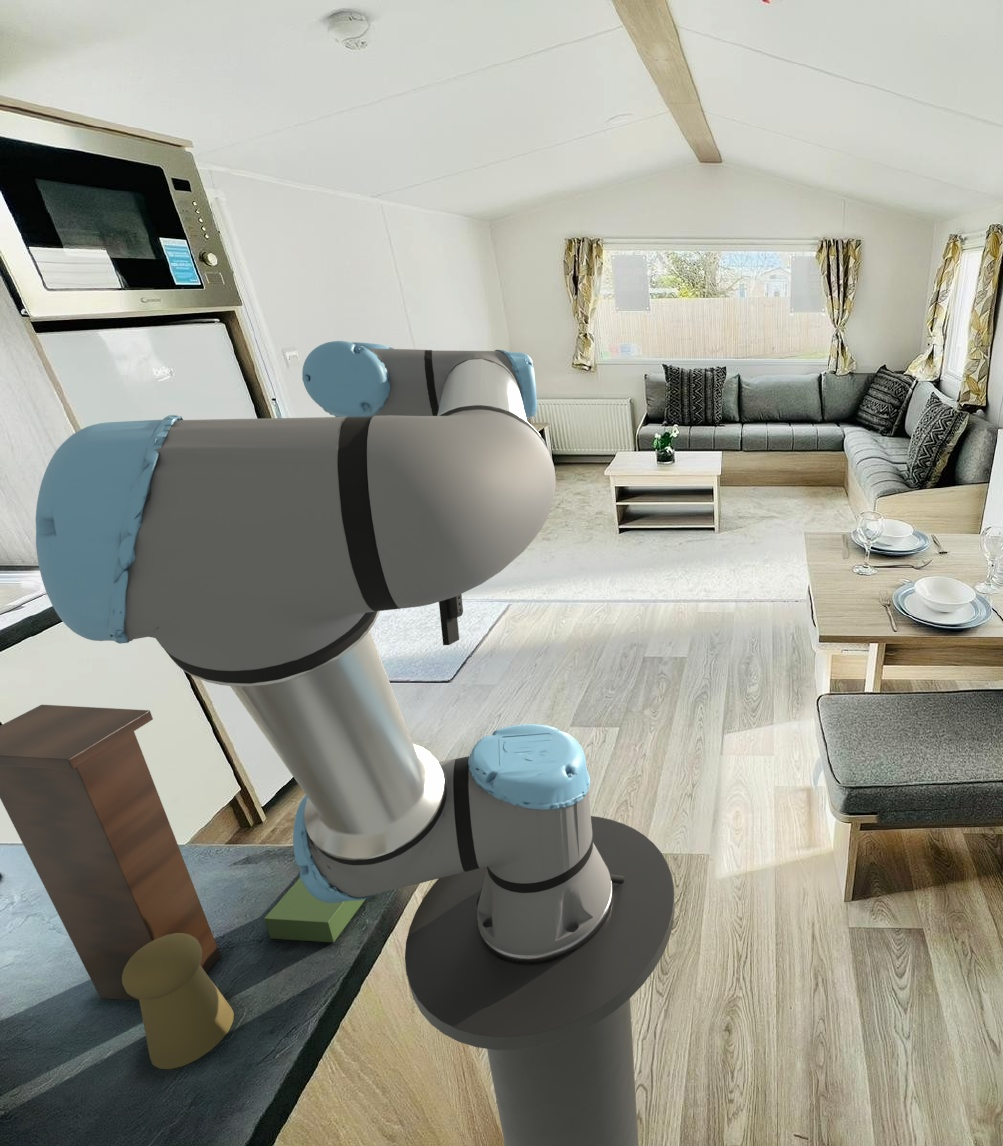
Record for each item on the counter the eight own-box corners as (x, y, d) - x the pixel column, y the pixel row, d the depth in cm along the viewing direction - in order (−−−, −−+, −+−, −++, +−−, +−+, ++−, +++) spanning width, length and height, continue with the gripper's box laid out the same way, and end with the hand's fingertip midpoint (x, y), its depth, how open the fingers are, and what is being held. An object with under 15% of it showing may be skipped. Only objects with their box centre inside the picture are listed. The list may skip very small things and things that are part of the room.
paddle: (410, 838, 83) (406, 820, 82) (333, 942, 69) (328, 922, 68) (357, 835, 83) (352, 817, 82) (270, 938, 69) (263, 918, 68)
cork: (188, 1076, 57) (149, 990, 53) (131, 1061, 58) (89, 976, 54) (250, 1009, 62) (219, 927, 58) (197, 997, 63) (163, 915, 59)
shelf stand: (238, 948, 68) (150, 709, 57) (180, 1014, 62) (68, 759, 51) (146, 942, 68) (41, 704, 57) (79, 1008, 62) (-55, 752, 51)
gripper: (256, 478, 75) (281, 652, 79) (466, 475, 75) (482, 649, 78) (303, 478, 83) (323, 637, 86) (493, 474, 82) (507, 634, 86)
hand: (399, 643), depth 82 cm, fingers open, 13 cm apart
